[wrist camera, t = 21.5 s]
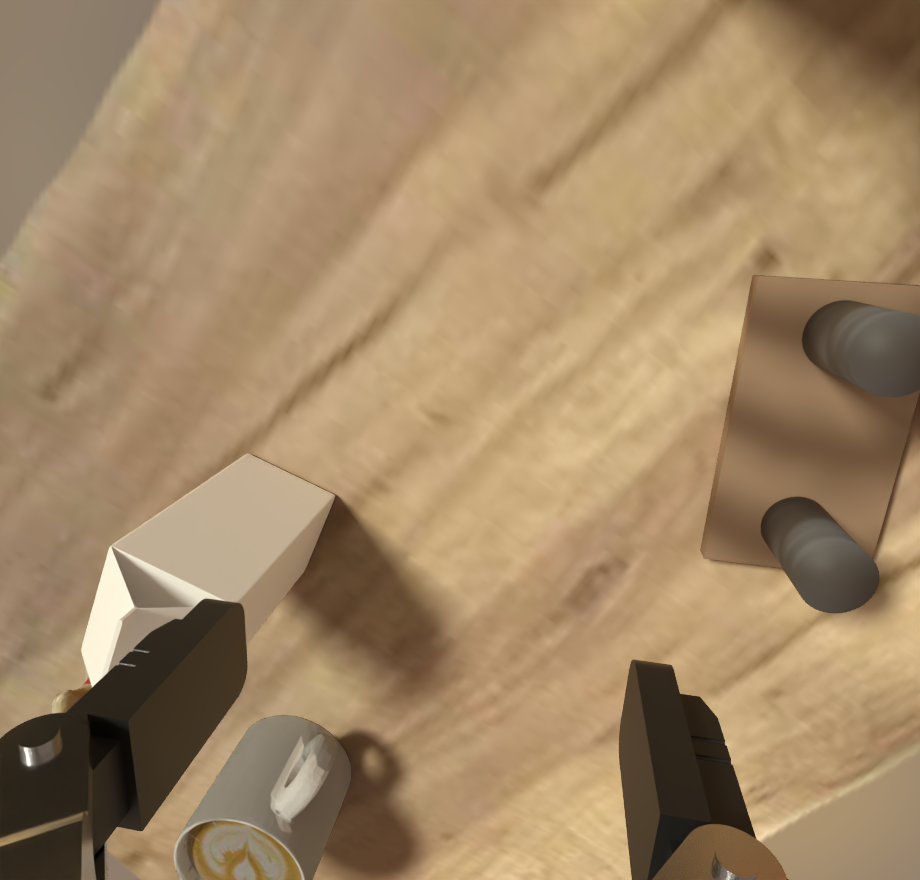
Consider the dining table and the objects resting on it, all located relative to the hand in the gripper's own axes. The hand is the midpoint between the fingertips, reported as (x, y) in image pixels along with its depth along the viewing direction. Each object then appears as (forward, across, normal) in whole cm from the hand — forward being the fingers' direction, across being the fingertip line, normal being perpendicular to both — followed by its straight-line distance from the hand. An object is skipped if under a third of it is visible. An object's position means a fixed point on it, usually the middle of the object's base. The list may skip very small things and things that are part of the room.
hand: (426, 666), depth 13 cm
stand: (+30, -18, +2) cm, 35 cm away
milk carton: (+30, +17, +12) cm, 37 cm away
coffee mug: (+30, +15, +34) cm, 48 cm away
